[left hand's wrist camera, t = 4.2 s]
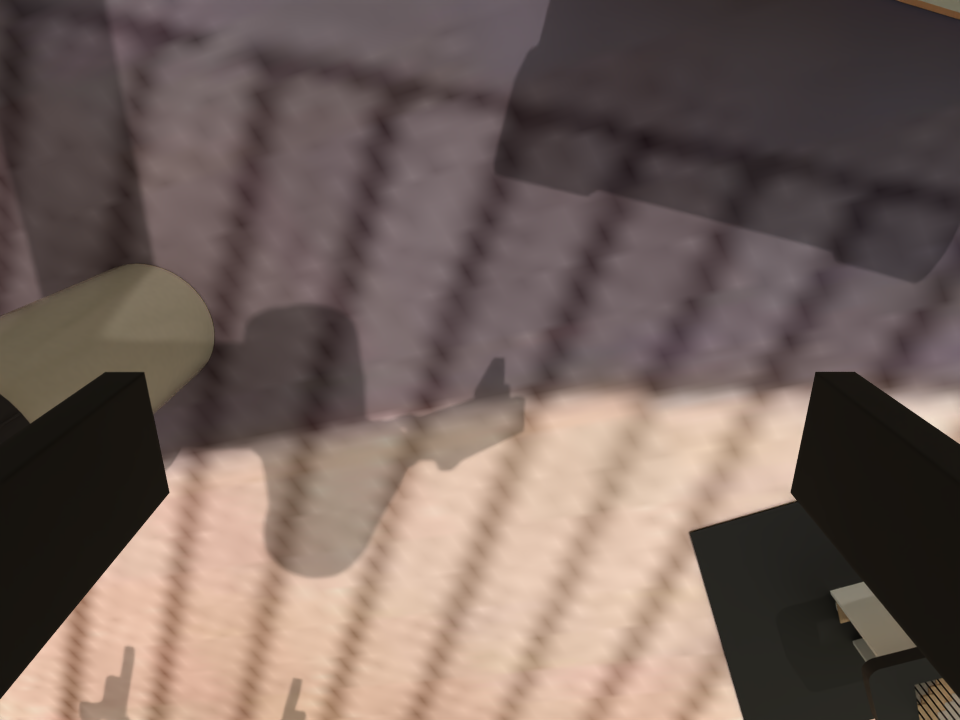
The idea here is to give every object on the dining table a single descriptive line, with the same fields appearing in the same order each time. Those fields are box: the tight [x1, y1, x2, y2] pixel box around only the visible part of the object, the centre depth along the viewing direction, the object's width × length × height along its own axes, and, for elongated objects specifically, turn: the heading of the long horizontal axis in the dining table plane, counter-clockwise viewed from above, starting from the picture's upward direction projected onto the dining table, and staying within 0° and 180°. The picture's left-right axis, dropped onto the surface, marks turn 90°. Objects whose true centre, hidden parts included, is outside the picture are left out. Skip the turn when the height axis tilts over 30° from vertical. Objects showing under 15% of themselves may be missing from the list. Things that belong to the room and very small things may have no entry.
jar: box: [0, 264, 214, 423], centre depth 32 cm, size 8×8×19 cm
